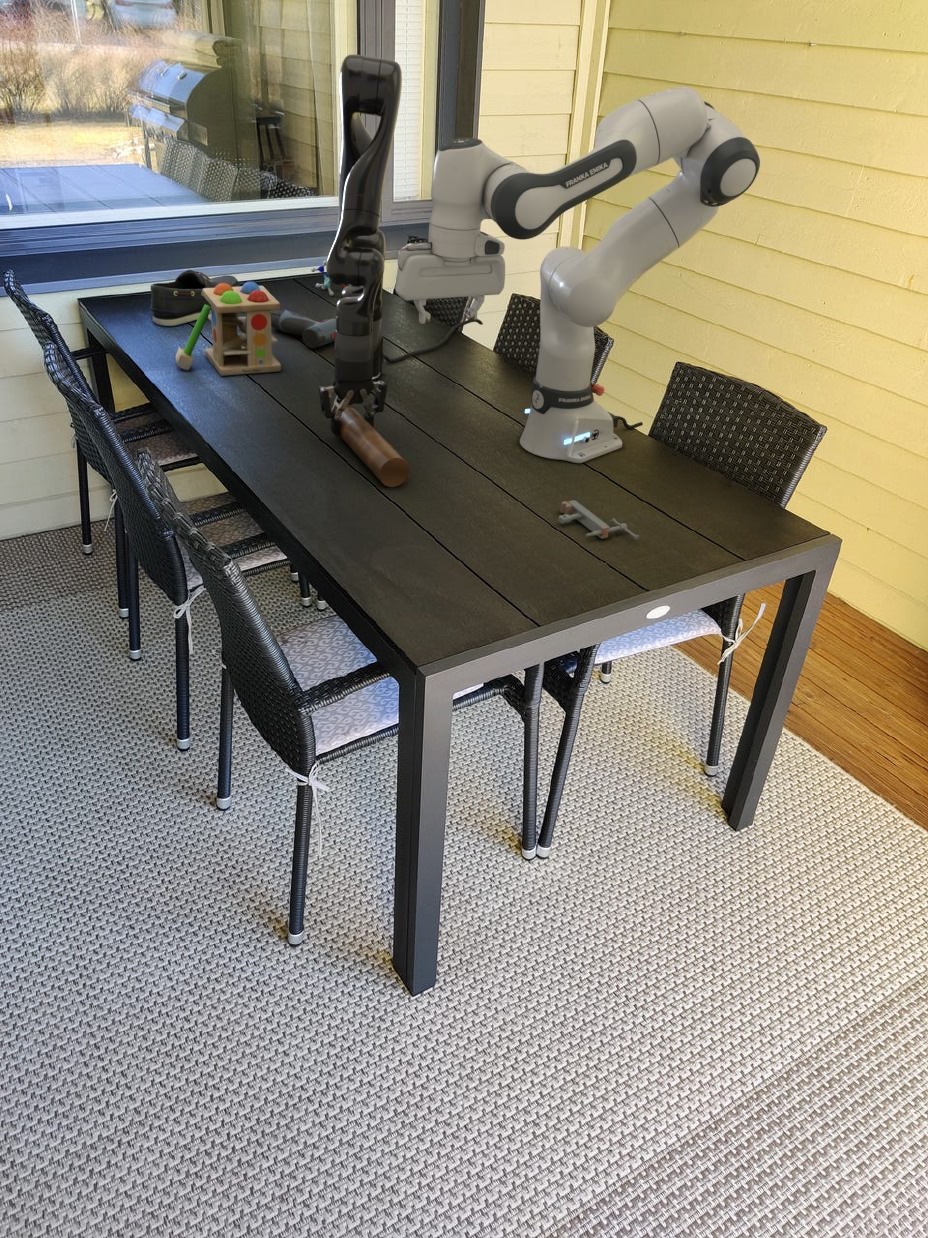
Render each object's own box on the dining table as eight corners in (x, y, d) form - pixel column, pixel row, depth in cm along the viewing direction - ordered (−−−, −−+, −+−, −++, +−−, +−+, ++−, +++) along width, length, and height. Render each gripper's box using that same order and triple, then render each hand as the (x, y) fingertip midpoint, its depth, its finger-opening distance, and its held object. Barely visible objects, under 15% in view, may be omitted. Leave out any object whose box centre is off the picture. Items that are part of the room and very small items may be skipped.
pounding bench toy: (183, 379, 220) (176, 299, 210) (169, 357, 231) (162, 280, 221) (282, 371, 230) (280, 294, 220) (264, 350, 240) (262, 276, 230)
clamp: (548, 504, 180) (591, 495, 185) (546, 514, 181) (590, 505, 186) (596, 542, 170) (641, 532, 174) (594, 553, 171) (639, 543, 175)
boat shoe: (260, 304, 271) (258, 265, 265) (170, 328, 247) (166, 286, 242) (226, 295, 276) (223, 257, 271) (135, 318, 253) (129, 277, 247)
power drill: (305, 316, 264) (364, 334, 256) (257, 332, 251) (318, 351, 243) (305, 296, 261) (365, 314, 253) (257, 311, 248) (318, 330, 240)
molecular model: (344, 287, 277) (332, 252, 275) (316, 300, 280) (304, 265, 279) (361, 290, 287) (349, 256, 286) (333, 302, 291) (322, 269, 289)
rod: (332, 436, 202) (332, 408, 199) (359, 433, 205) (360, 405, 202) (379, 489, 185) (380, 459, 181) (408, 484, 187) (409, 455, 184)
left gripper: (325, 363, 185) (325, 445, 195) (395, 356, 191) (392, 436, 201) (312, 349, 191) (312, 430, 200) (380, 344, 197) (377, 422, 206)
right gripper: (406, 248, 163) (402, 330, 171) (513, 244, 171) (504, 322, 179) (391, 238, 167) (388, 319, 175) (496, 234, 176) (488, 311, 184)
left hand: (352, 433), depth 200 cm, fingers closed on rod, 6 cm apart
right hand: (447, 321), depth 177 cm, fingers open, 8 cm apart
